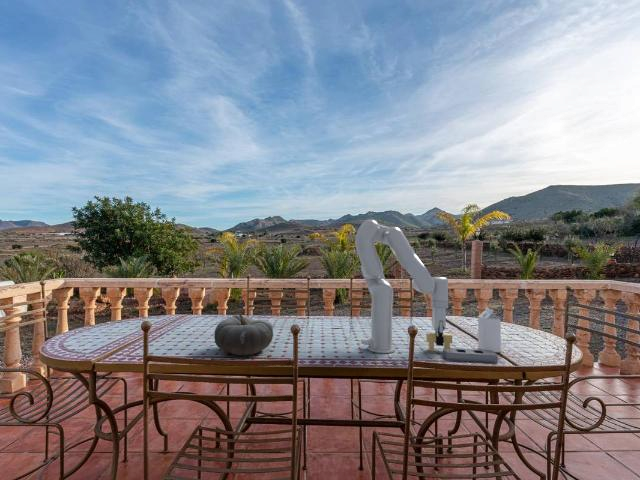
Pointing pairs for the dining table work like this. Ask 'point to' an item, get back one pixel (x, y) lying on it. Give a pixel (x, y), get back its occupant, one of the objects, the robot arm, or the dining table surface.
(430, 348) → the clip
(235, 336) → the gourd
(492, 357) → the grey block with holes
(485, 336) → the milk carton
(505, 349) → the dining table surface
